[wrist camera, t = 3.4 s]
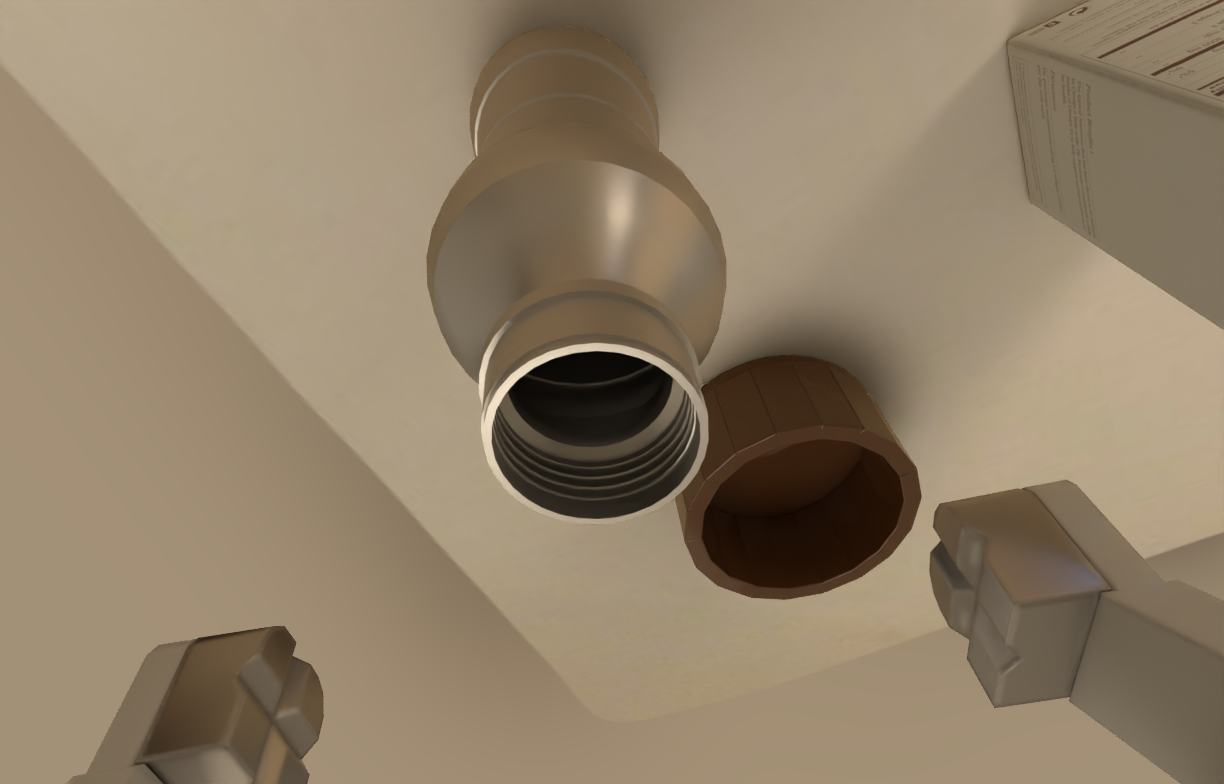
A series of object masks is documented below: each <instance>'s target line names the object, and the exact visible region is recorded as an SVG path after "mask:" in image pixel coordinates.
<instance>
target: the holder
mask: <svg viewBox="0 0 1224 784" xmlns="http://www.w3.org/2000/svg"><path fill="white" fill-rule="evenodd" d="M701 391H702V394H703V398H704V401H705V405H706V409H707V412H708V439H709V440H708V445H707V449H706V454H705V458H704V460H703V462H702V464H701V466H700V468H699V470H698V472H697V474H696V475H695V477H694V478H693V479H692V481H691V482H690V483H689V484H688V486H687V487H686V488H685V489H684V490H683V491H682V492H681V493H680V494H678V495H677V496H676V497H675V500H676V505H677V509H678V514H679V518H680V523H681V527H682V532H683V536H684V541H685V544H686V546H687V548H688V550H689V553H690V555H691V557H692V560H693V562H694V564H695V566H696V568H697V569H698V570H700V571H701V572H702V573H703V574H704V575H706V576H707V577H708V578H709V579H710V580H711V581H713V582H714V583H715V584H716V585H717V586H720V587H722V588H725V589H728V590H731V591H734V592H736V593H739V594H742V595H745V596H748V597H751V598H765V599H783V600H786V599H793V598H798V597H804V596H810V595H815V594H821V593H824V592H827V591H830V590H832V589H834V588H837V587H839V586H842V585H844V584H846V583H849V582H851V581H853V580H856V579H858V578H859V577H862V576H863V575H865V574H866V573H868V572H869V571H870V570H872V569H873V568H874V567H876V566H877V565H879V564H880V563H881V562H883V561H884V560H885V559H887V558H888V557H890V555H892V553H893V552H894V551H895V549H896V548H897V547H898V546H899V544H900V543H901V542H902V541H903V539H904V538H905V537H906V535H907V534H908V533H909V532H910V530H911V529H912V526H913V523H914V520H915V517H916V514H917V510H918V507H919V504H920V501H921V490H920V484H919V478H918V472H917V468H916V466H915V464H914V463H913V461H912V460H911V458H910V456H909V455H908V453H907V452H906V450H905V449H904V447H903V445H902V444H901V442H900V441H899V439H898V438H897V436H896V434H895V433H894V431H893V430H892V428H891V427H890V425H889V423H888V422H887V420H886V419H885V417H884V416H883V414H882V412H881V411H880V409H879V408H878V406H877V405H876V403H875V402H874V401H873V399H872V398H871V397H870V395H869V394H868V393H867V391H866V390H865V388H864V387H863V385H862V384H861V383H860V382H859V381H858V380H857V379H856V378H855V377H854V376H853V375H851V374H850V373H849V372H847V371H846V370H844V369H842V368H841V367H839V366H837V365H835V364H832V363H830V362H827V361H824V360H821V359H816V358H812V357H805V356H776V357H768V358H763V359H759V360H755V361H751V362H748V363H746V364H743V365H740V366H737V367H735V368H733V369H731V370H729V371H727V372H725V373H723V374H722V375H720V376H718V377H717V378H715V379H714V380H712V381H711V382H709V383H708V384H707V385H706V386H704V387H703V388H702V389H701Z"/></svg>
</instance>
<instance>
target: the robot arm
mask: <svg viewBox="0 0 1224 784" xmlns="http://www.w3.org/2000/svg"><path fill="white" fill-rule="evenodd" d="M933 528H934V529H935V531H936V533H937V534H938V536H939V538H940V539H941V541H940V542H939V543H938V545H937V546H936V547H935V548H934V549H933V550H932V551H931V552H930V570H929V572H930V577H931V582H932V588H933V593H934V595H935V598H936V601H937V603H938V606H939V608H940V611H941V612H942V614H943V616H944V618H945V620H946V622H947V624H948V626H949V627H950V628H951V629H953V630H955V631H956V632H958V633H960V634H961V635H963V636H965V637H966V638H968V639H969V647H968V654H967V660H968V662H969V663H970V665H971V667H972V669H973V670H974V672H975V674H976V676H977V678H978V680H979V681H980V683H981V685H982V686H983V688H984V690H985V692H986V694H987V695H988V697H989V699H990V701H991V703H992V704H993V706H994V708H998V707H1006V706H1012V705H1019V704H1026V703H1033V702H1040V701H1046V700H1053V699H1060V698H1067V697H1070V699H1069V701H1070V702H1071V703H1072V704H1074V705H1075V706H1077V707H1078V708H1079V709H1080V710H1082V711H1083V712H1085V713H1086V714H1087V715H1089V716H1090V717H1091V718H1093V719H1094V720H1095V721H1097V722H1098V723H1100V724H1101V725H1103V726H1104V727H1105V728H1106V729H1108V730H1109V731H1111V732H1112V733H1113V734H1114V735H1116V736H1117V737H1119V738H1120V739H1121V740H1122V741H1124V742H1126V743H1127V744H1128V745H1129V746H1131V747H1132V748H1133V749H1135V750H1136V751H1138V752H1139V753H1140V754H1142V755H1143V756H1144V757H1145V758H1147V759H1148V760H1150V761H1151V762H1152V763H1154V764H1155V765H1156V766H1158V767H1159V768H1160V769H1162V770H1163V771H1164V772H1166V773H1167V774H1169V775H1170V776H1171V777H1173V778H1174V779H1175V780H1177V781H1178V782H1179V783H1181V784H1224V601H1223V600H1221V599H1219V598H1216V597H1214V596H1212V595H1210V594H1208V593H1206V592H1204V591H1202V590H1199V589H1197V588H1195V587H1193V586H1191V585H1188V584H1186V583H1184V582H1182V581H1180V580H1173V581H1166V582H1164V581H1163V580H1162V578H1161V577H1160V576H1159V575H1158V574H1157V573H1156V572H1155V571H1154V570H1153V569H1152V567H1151V566H1150V565H1149V564H1148V563H1147V562H1146V561H1145V560H1144V559H1143V558H1142V556H1141V555H1140V554H1139V553H1138V552H1137V551H1136V550H1135V549H1134V548H1133V547H1132V545H1131V544H1130V543H1129V542H1128V541H1127V540H1126V539H1125V538H1124V537H1123V536H1122V534H1121V533H1120V532H1119V531H1118V530H1117V529H1116V528H1115V527H1114V526H1113V525H1112V523H1111V522H1110V521H1109V520H1108V519H1107V518H1106V517H1105V516H1104V515H1103V514H1102V512H1101V511H1100V510H1099V509H1098V508H1097V507H1096V506H1095V505H1094V504H1093V503H1092V501H1091V500H1090V499H1089V498H1088V497H1087V496H1086V495H1085V494H1084V493H1083V492H1082V490H1081V489H1080V488H1079V487H1078V486H1077V485H1076V484H1074V483H1072V482H1070V481H1068V480H1062V481H1056V482H1051V483H1046V484H1041V485H1035V486H1030V487H1025V488H1022V489H1012V490H1007V491H1002V492H997V493H992V494H987V495H982V496H976V497H971V498H966V499H961V500H956V501H951V502H945V503H940V504H939V506H938V507H937V509H936V511H935V514H934V523H933ZM295 646H296V641H295V640H294V639H293V637H292V636H291V634H290V633H289V632H288V630H287V629H286V627H285V626H272V627H266V628H259V629H253V630H246V631H240V632H233V633H227V634H221V635H214V636H208V637H202V638H197V639H192V640H186V641H180V642H174V643H168V644H162V645H158V646H157V647H156V648H155V649H153V650H152V651H151V652H150V653H149V654H148V655H147V656H146V657H145V659H144V661H143V663H142V665H141V667H140V669H139V671H138V673H137V675H136V677H135V679H134V681H133V683H132V685H131V687H130V689H129V691H128V692H127V694H126V697H125V699H124V701H123V702H122V704H121V706H120V708H119V710H118V712H117V714H116V717H115V718H114V720H113V722H112V724H111V726H110V728H109V730H108V732H107V734H106V736H105V738H104V740H103V742H102V744H101V746H100V748H99V749H98V751H97V753H96V755H95V757H94V759H93V761H92V763H91V765H90V767H89V769H88V771H87V773H86V774H83V775H78V776H74V777H72V778H71V779H70V780H69V781H68V782H67V783H66V784H307V782H308V778H309V773H308V771H307V769H306V767H305V765H304V763H303V761H302V758H303V757H304V756H305V755H306V754H307V752H308V751H309V750H310V749H311V748H312V746H313V745H314V744H315V743H316V742H317V741H318V739H319V734H320V730H321V726H322V722H323V716H324V714H323V691H322V687H321V684H320V681H319V677H318V675H317V674H316V672H315V670H314V669H313V667H312V666H311V664H309V663H307V662H304V661H302V660H300V659H298V658H296V657H294V656H292V655H293V652H294V649H295Z"/></svg>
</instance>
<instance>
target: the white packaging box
mask: <svg viewBox="0 0 1224 784" xmlns="http://www.w3.org/2000/svg"><path fill="white" fill-rule="evenodd" d="M1007 51H1008V57H1009V64H1010V72H1011V79H1012V86H1013V92H1014V99H1015V105H1016V112H1017V118H1018V125H1019V131H1020V138H1021V144H1022V151H1023V157H1024V164H1025V170H1026V177H1027V183H1028V190H1029V196H1030V203H1031V204H1033V205H1035V206H1037V207H1038V208H1040V209H1041V210H1043V211H1044V212H1046V213H1047V214H1049V215H1050V216H1052V217H1053V218H1055V219H1056V220H1058V221H1059V222H1061V223H1062V224H1064V225H1065V226H1067V227H1068V228H1070V229H1071V230H1073V231H1074V232H1076V233H1077V234H1079V235H1081V236H1082V237H1084V238H1085V239H1087V240H1088V241H1090V242H1091V243H1093V244H1094V245H1096V246H1097V247H1099V248H1100V249H1102V250H1103V251H1105V252H1106V253H1108V254H1109V255H1111V256H1112V257H1114V258H1115V259H1117V260H1118V261H1120V262H1121V263H1123V264H1124V265H1126V266H1127V267H1129V268H1130V269H1132V270H1133V271H1135V272H1136V273H1138V274H1140V275H1141V276H1143V277H1144V278H1146V279H1147V280H1149V281H1150V282H1152V283H1153V284H1155V285H1156V286H1158V287H1159V288H1161V289H1162V290H1164V291H1165V292H1167V293H1168V294H1170V295H1171V296H1173V297H1174V298H1176V299H1177V300H1179V301H1180V302H1182V303H1183V304H1185V305H1187V306H1188V307H1190V308H1191V309H1193V310H1194V311H1196V312H1197V313H1199V314H1200V315H1202V316H1203V317H1205V318H1206V319H1208V320H1210V321H1211V322H1212V323H1214V324H1215V325H1217V326H1218V327H1220V328H1221V329H1223V330H1224V0H1089V1H1087V2H1085V3H1083V4H1081V5H1079V6H1077V7H1075V8H1073V9H1070V10H1068V11H1066V12H1064V13H1062V14H1060V15H1058V16H1056V17H1054V18H1052V19H1050V20H1048V21H1046V22H1044V23H1042V24H1040V25H1038V26H1036V27H1034V28H1031V29H1029V30H1027V31H1025V32H1023V33H1021V34H1019V35H1017V36H1015V37H1013V38H1011V39H1010V40H1008V41H1007Z"/></svg>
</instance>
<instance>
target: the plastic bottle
mask: <svg viewBox="0 0 1224 784" xmlns="http://www.w3.org/2000/svg"><path fill="white" fill-rule="evenodd" d="M470 132H471V139H472V144H473V149H474V154H475V159H474V160H473V162H472V163H471V164H470V165H469V166H468V167H467V168H466V169H465V171H464V172H463V173H462V175H461V176H460V177H459V179H458V180H457V181H456V183H455V184H454V186H453V187H452V188H451V190H450V192H449V194H448V196H447V198H446V199H445V201H444V203H443V205H442V207H441V210H440V212H439V214H438V217H437V219H436V221H435V224H434V226H433V228H432V231H431V236H430V242H429V247H428V252H427V258H426V259H427V286H428V290H429V294H430V298H431V302H432V306H433V310H434V313H435V316H436V319H437V321H438V324H439V327H440V330H441V332H442V334H443V336H444V338H445V340H446V342H447V344H448V346H449V348H450V351H451V353H452V354H453V356H454V357H455V358H456V360H457V361H458V362H459V364H460V365H461V366H462V368H463V369H464V370H465V372H466V373H467V374H468V375H469V376H470V377H471V378H472V379H473V380H474V381H475V382H477V383H478V384H479V395H480V399H481V403H482V421H481V436H482V440H483V445H484V449H485V453H486V458H487V461H488V463H489V465H490V467H491V469H492V471H493V473H494V475H495V477H496V478H497V479H498V481H499V482H500V483H501V484H502V486H503V487H504V488H505V489H506V491H507V492H509V493H510V494H511V495H512V496H513V497H515V498H516V499H517V500H518V501H519V502H521V503H522V504H524V505H525V506H527V507H529V508H531V509H533V510H534V511H536V512H538V513H540V514H543V515H546V516H548V517H551V518H554V519H557V520H561V521H566V522H571V523H576V524H593V525H600V524H611V523H619V522H623V521H627V520H631V519H635V518H638V517H641V516H643V515H646V514H648V513H651V512H653V511H655V510H657V509H659V508H660V507H662V506H663V505H665V504H667V503H668V502H670V501H672V500H673V499H674V498H675V497H676V496H677V495H678V494H680V493H681V492H682V491H683V490H684V489H685V488H686V487H687V486H688V484H689V483H690V482H691V481H692V479H693V478H694V477H695V475H696V474H697V472H698V470H699V468H700V466H701V464H702V462H703V460H704V458H705V454H706V449H707V445H708V440H709V439H708V412H707V409H706V405H705V401H704V398H703V394H702V391H701V373H700V369H699V366H700V364H701V363H702V361H703V360H704V358H705V357H706V356H707V354H708V352H709V350H710V348H711V346H712V343H713V341H714V339H715V336H716V334H717V332H718V329H719V324H720V319H721V314H722V309H723V304H724V298H725V292H726V257H725V252H724V247H723V243H722V238H721V233H720V231H719V229H718V227H717V225H716V222H715V220H714V218H713V216H712V213H711V211H710V209H709V207H708V206H707V204H706V203H705V201H704V200H703V199H702V197H701V196H700V195H699V193H698V192H697V190H696V189H695V188H694V186H693V185H692V184H691V182H690V181H689V180H688V178H687V177H686V176H685V174H684V173H683V171H682V170H680V169H679V168H678V167H677V166H676V165H675V164H674V163H673V162H672V161H670V160H669V159H668V158H667V157H666V156H665V155H664V154H663V153H662V152H660V151H659V150H658V149H659V123H658V112H657V108H656V104H655V100H654V96H653V93H652V91H651V89H650V87H649V84H648V82H647V80H646V78H645V76H644V75H643V73H642V72H641V70H640V69H639V68H638V66H637V65H636V63H635V62H634V61H633V60H632V59H631V58H630V57H629V56H628V55H627V54H626V53H625V52H624V51H623V50H622V49H621V48H620V47H619V46H617V45H615V44H614V43H612V42H611V41H609V40H608V39H606V38H604V37H603V36H601V35H598V34H596V33H593V32H590V31H587V30H585V29H581V28H574V27H568V26H553V27H542V28H539V29H536V30H532V31H529V32H526V33H523V34H521V35H520V36H518V37H516V38H514V39H513V40H511V41H509V42H507V43H506V44H505V45H504V46H503V47H502V48H501V49H500V50H499V51H497V52H496V53H495V54H494V55H493V56H492V57H491V59H490V60H489V62H488V63H487V65H486V66H485V67H484V69H483V70H482V72H481V74H480V76H479V79H478V81H477V83H476V86H475V88H474V91H473V96H472V101H471V106H470Z"/></svg>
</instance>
